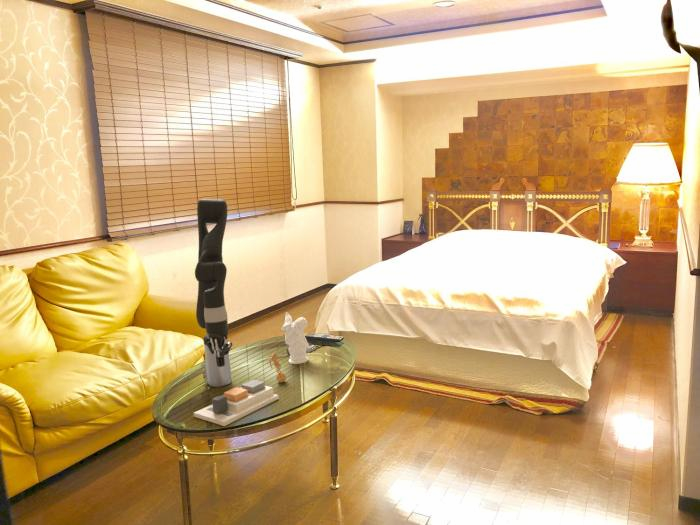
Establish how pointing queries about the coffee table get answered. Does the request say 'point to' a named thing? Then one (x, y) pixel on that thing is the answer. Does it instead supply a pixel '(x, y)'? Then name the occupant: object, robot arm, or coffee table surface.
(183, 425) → the coffee table surface
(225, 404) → the dark grey block
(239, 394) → the orange button
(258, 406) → the control panel
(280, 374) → the figurine
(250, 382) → the grey button
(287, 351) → the walkie-talkie
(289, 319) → the cherub figurine
